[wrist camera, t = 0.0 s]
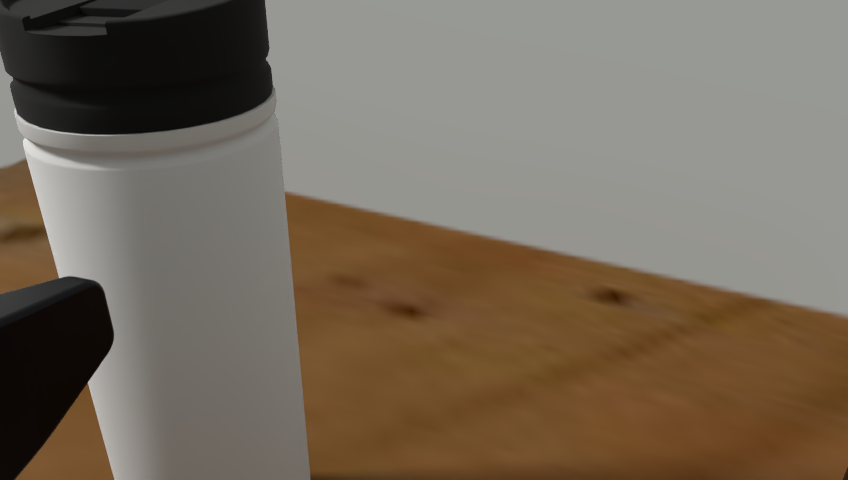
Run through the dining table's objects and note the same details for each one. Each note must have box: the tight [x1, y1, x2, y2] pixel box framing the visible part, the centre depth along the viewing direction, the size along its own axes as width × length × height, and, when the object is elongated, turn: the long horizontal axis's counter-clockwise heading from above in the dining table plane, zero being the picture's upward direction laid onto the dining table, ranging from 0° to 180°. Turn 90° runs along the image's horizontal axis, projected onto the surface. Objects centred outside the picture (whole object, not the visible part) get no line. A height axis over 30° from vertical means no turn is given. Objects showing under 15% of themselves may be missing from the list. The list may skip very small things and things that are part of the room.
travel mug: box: [0, 0, 311, 480], centre depth 21 cm, size 6×7×20 cm
